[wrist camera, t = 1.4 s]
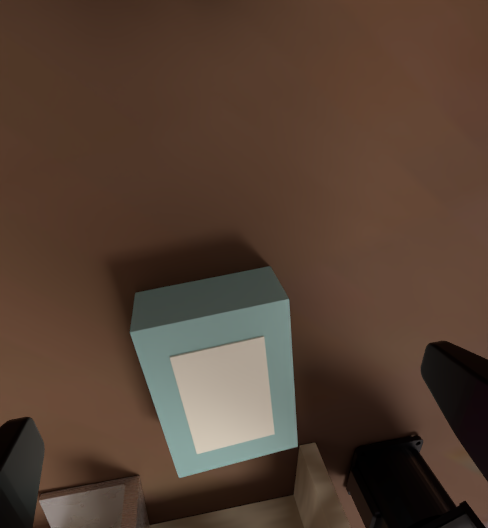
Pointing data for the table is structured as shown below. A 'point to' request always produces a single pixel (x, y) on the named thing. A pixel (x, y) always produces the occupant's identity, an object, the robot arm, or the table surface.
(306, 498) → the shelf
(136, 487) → the bookend
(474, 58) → the table surface
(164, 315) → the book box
